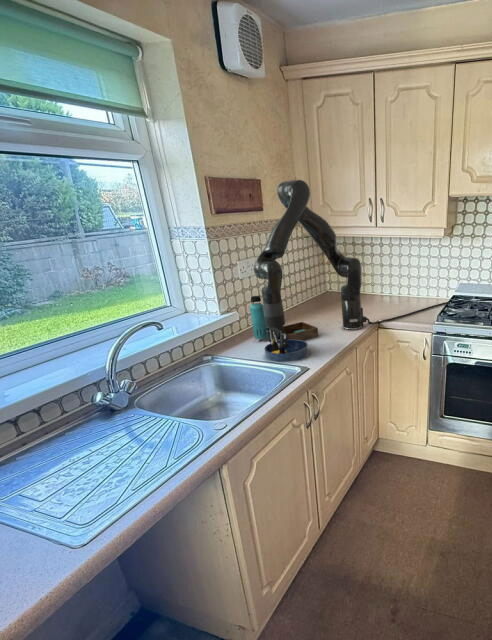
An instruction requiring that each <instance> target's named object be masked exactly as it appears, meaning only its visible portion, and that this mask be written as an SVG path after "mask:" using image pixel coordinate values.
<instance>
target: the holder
mask: <svg viewBox="0 0 492 640" xmlns="http://www.w3.org/2000/svg"><path fill="white" fill-rule="evenodd" d="M282 328H283V332H284V333H287V334H288V340H290V339H294V340H302V341H307V340H310V339H315V338H319V328H318V326H317V327H316V326H314V325H311V324H309V323H306V322H303V321H299V322H295V323H291V324H285V325H284V326H283V327H282ZM302 329H304V331H300V332H296V333H294V331H298V330H302ZM279 340H281V339H279Z"/></svg>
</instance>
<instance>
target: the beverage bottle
mask: <svg viewBox="0 0 492 640" xmlns="http://www.w3.org/2000/svg"><path fill="white" fill-rule="evenodd" d="M261 301H262V298H261V296H260V295H252V296H251V297H250V302H251V304H250V306H249V312H250V318H251V325H252V331H253V338H254V339H255V340H264V339H268V336H267V332H266V328H267V326H266V325H265V318H264V311H263V303H261Z"/></svg>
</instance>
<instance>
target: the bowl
mask: <svg viewBox="0 0 492 640" xmlns="http://www.w3.org/2000/svg"><path fill="white" fill-rule="evenodd" d="M277 344H278V343H277ZM280 345H281V342H280ZM285 350H286V351H287V353H272V352H273V346H272V344H271V342H269V343H267V344H266V346H264V354H265V359H267V360H268V361H271V362H276V363H288V362H294V361H300V360H302V359H304V358H305V357H307V356H308V355H309V353H310V352H309V351H310V350H309V343H308V342H306V340H303V341H302V340H294V339H290V340H288V346H287V347H285Z"/></svg>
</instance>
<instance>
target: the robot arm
mask: <svg viewBox="0 0 492 640" xmlns="http://www.w3.org/2000/svg"><path fill="white" fill-rule="evenodd" d="M276 192H277V196H278V200H279V201H280V203H281V204H282V205H283V207H284V208H285V209H286V210H285V212H284V213H283V215H282V216H281V217H280V218H279V220H278V221H277V222H276V223H275V224H274V226H273V228H272V229H271V231H270V234H269V236H268V238H267V242H266V245H265V246H264V248H263V249H262V250H261V252H260V254H259V255H258V257H257V258H256V259H255V261H254V265H253V272H254V275H255V276H256V277H257V278H258V279H259V280H266V281H267V285H264V286H263V287H262V288H261V290H260V292H261V301H262V304H263V311H264V318H265V325H266V326H267V328H266V332H267V336H268V337H267V339H268V342H269V343H271V344H272V346H273V351H277V350H279V353H285V347H287V346H288V334H287V333H284V332H283V328H282V327H283V326H286V318H285V311H284V304H283V301H282V292H281V290H282V282H283V272H284V271H283V268H282V265H281V264H280V263H279V262H278V261H277V260H279V259H281V258H283V257H284V256H285V253H286V250H287V247H288V245H289V241H290V239H291V236H292V234H293V231H294V230H295V228H296V225H297V224H298V223H299V224H300V225H301V226H302V227H303V229H304V230H305V231H306V233H308V235H309V236H310V238H311V239H312V241H313V242H314V243H315V244H316V245H317V246H318V248H319V249H320V250H321V252H322V253H323V254H324V256H325V257H326V258H327V259H328V261H329V263H330V265H331V266H332V267H333V269H334V271H335V272H336V274H337V275H338V276H339V277H342V278H346V279H347V282H346V284H344V285H342V286H341V287H340V299H341V300H340V301H341V316H342V317H341V319H342V329H343V330H346V331H358V330H360V329H362V328H364V323H368V324H369V325H373V324H374V325H375V324H376V325H377V324H381V323H385V322H390V321H393V320H398V319H401V318H405V317H407V316H411V315H414V314H418V313H421V312H423V311H426V310H429V309H432V308H433V309H434V308H436V307H440V306H444V305H448V304H449V303H448V302H449V301H446V302H441V303H438V304H434V305H430V306H428V307H427V306H426V307H424V308H421V309H418V310H414V311H412V312H408V313H405V314H402V315H398V316H394V317H390V318H386V319H382V320H377V321H373V322H372V321H370V319H369V318H368V317H367V316H364V308H363V307H362V299H361V288H362V281H363V279H362V275H363V273H362V271H363V268H362V262H361V261H360V259H359V258H357V257H350V256H345V255H344V254H343V253H342V252H341V251H340V248H339V246H338V237H337V234H336V232H335V231H334V229H333V227H332V226H331V225H330V224H329V222H328V221H327V220H326V219H325V218H323V217H322V216H321V215H319V214H318V213H316V212H315V211H313V210H312V209H311V208H310V207H308V204H309V202H310V199H311V189H310V186H309V185H308V183H307V182H306V181H305V180H302V179H291V180H285V181H282V182H280V183H279V184H278V185H277V189H276ZM279 339H281V340H279ZM280 342H281V345H280ZM277 343H278V344H277Z"/></svg>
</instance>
